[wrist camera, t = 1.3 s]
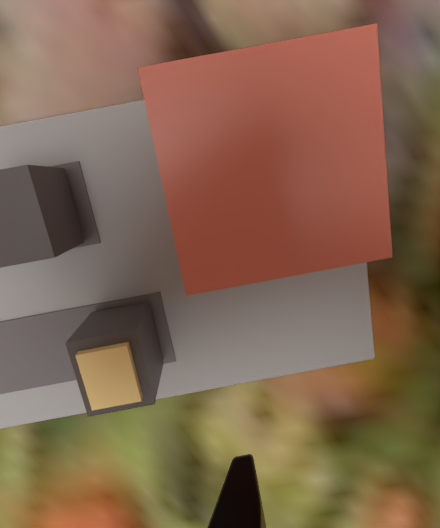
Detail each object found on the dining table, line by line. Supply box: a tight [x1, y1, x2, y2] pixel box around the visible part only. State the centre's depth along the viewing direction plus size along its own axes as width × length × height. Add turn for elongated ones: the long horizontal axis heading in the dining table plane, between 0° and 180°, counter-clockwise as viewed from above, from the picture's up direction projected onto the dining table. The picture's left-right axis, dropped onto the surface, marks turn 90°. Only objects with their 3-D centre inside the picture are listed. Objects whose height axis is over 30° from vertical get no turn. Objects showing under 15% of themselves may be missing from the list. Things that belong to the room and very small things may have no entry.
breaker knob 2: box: [65, 301, 164, 416], centre depth 14 cm, size 2×3×3 cm
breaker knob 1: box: [0, 165, 84, 268], centre depth 13 cm, size 2×3×3 cm
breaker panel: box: [0, 100, 375, 428], centre depth 16 cm, size 22×13×2 cm, turn 100°
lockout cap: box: [138, 23, 393, 296], centre depth 12 cm, size 6×6×5 cm
